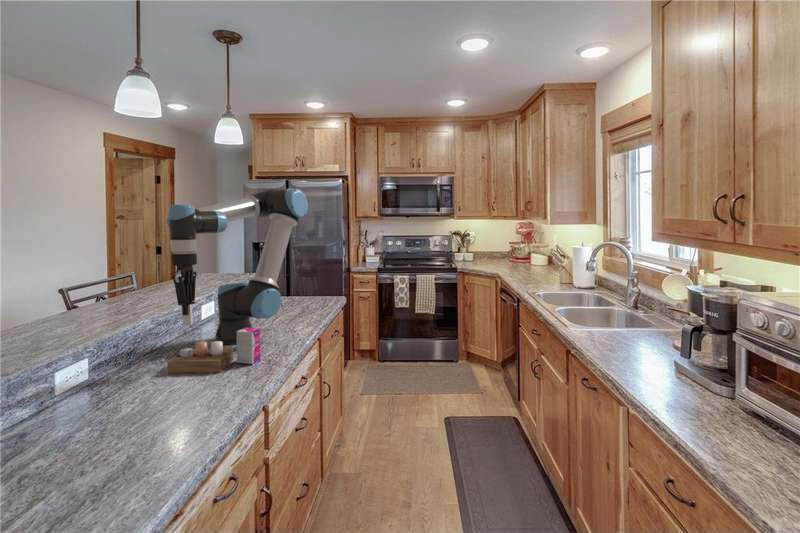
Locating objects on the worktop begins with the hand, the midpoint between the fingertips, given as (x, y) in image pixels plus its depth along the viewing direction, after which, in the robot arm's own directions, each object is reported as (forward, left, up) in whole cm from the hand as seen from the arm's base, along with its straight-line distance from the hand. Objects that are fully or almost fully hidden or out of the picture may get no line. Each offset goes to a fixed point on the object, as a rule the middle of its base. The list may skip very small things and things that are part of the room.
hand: (187, 324), depth 150 cm
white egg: (0, +9, -10) cm, 14 cm away
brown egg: (0, +4, -10) cm, 11 cm away
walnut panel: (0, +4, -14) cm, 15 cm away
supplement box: (-3, +18, -15) cm, 24 cm away
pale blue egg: (0, -1, -13) cm, 13 cm away
